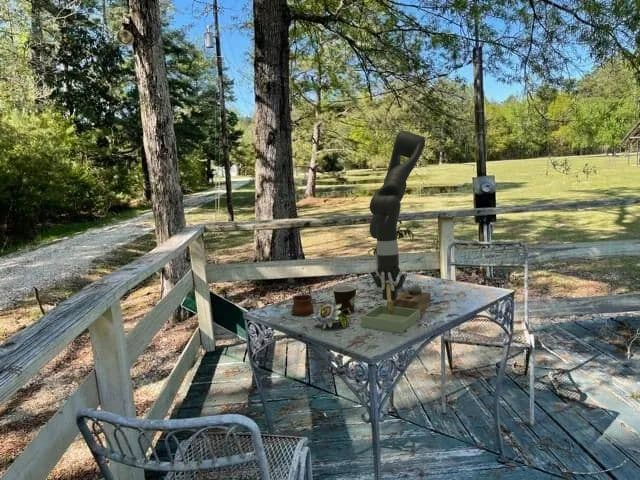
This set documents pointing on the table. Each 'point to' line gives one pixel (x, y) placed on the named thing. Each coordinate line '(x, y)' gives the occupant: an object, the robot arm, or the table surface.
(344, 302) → the coffee mug
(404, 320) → the pin tray
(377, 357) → the table surface
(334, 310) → the passion flower
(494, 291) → the table surface
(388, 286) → the pin
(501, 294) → the table surface
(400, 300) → the block
